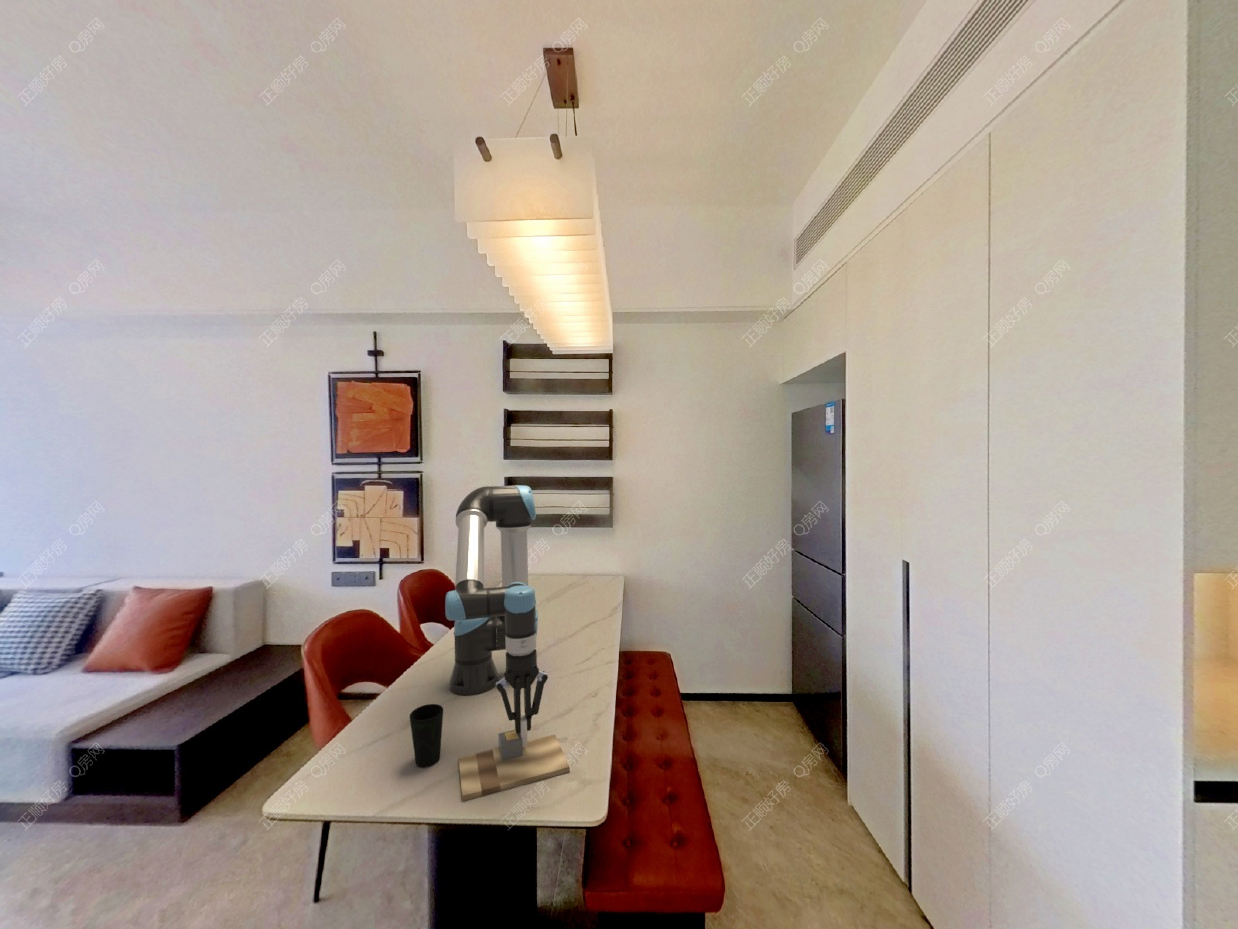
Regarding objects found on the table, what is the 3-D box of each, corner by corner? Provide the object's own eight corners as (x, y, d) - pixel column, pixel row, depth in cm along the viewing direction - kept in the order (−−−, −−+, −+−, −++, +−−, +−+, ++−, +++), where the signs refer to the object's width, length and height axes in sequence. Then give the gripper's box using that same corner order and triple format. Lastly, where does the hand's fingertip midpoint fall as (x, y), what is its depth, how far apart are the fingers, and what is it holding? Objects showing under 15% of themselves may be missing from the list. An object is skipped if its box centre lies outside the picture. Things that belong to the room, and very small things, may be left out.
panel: (458, 762, 115) (458, 757, 115) (555, 739, 124) (554, 734, 124) (462, 801, 102) (462, 795, 102) (569, 771, 111) (569, 766, 111)
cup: (448, 750, 120) (447, 703, 120) (438, 770, 112) (437, 720, 112) (418, 751, 120) (416, 704, 120) (405, 771, 112) (404, 721, 112)
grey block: (498, 749, 118) (498, 732, 118) (518, 744, 120) (518, 727, 120) (501, 761, 113) (501, 743, 113) (522, 756, 115) (522, 738, 115)
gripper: (496, 661, 111) (499, 759, 112) (550, 651, 116) (552, 745, 117) (492, 649, 118) (494, 742, 119) (543, 640, 123) (545, 729, 124)
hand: (523, 743), depth 118 cm, fingers closed
